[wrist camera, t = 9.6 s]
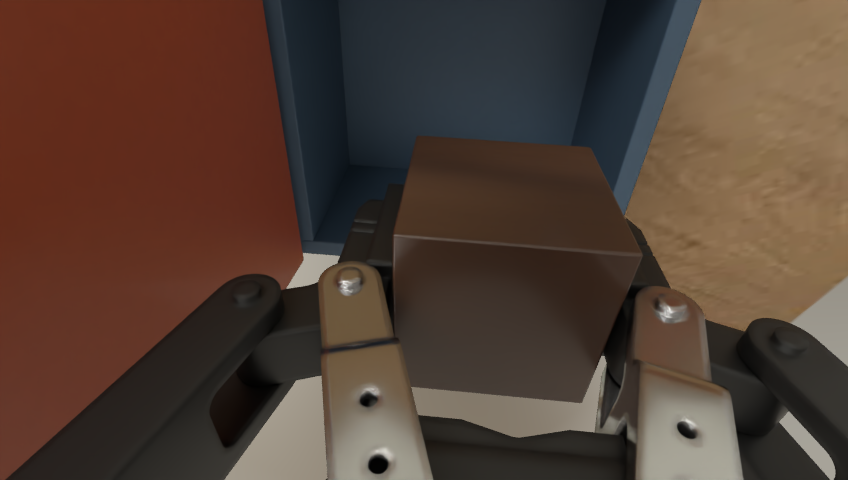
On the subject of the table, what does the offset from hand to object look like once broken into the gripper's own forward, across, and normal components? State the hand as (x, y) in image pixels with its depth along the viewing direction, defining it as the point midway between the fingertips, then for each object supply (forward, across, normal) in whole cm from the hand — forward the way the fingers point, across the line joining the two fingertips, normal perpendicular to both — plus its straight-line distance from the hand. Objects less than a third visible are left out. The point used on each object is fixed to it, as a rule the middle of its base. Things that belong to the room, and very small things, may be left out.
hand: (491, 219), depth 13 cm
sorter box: (+15, +1, 0) cm, 15 cm away
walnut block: (0, 0, 0) cm, 0 cm away
